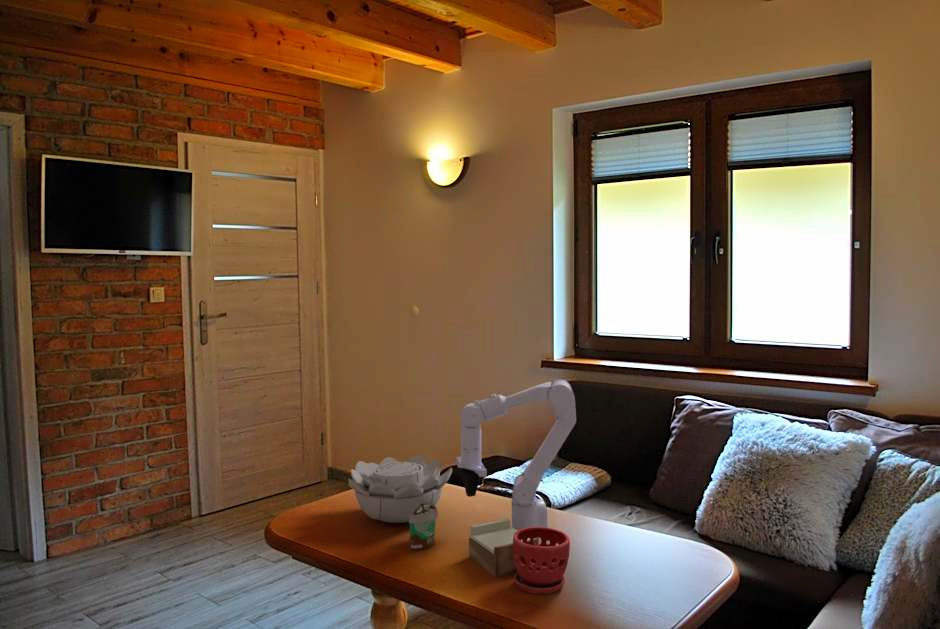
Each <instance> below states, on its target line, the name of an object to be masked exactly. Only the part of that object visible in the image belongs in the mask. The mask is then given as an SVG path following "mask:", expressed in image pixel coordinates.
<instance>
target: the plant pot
mask: <svg viewBox="0 0 940 629" xmlns="http://www.w3.org/2000/svg"><path fill="white" fill-rule="evenodd" d="M528 538H530V541H529V542H527V539H528ZM534 538H540V540H541V542H540V544H538V545H535V544H534V543H533V539H534ZM521 540H522V541H523V542H521ZM547 542H549V544H548V543H547ZM570 542H571V540H570V536H568V534H566V533H565V532H563V531H561V530H558V529H555V528H551V527H547V528H546V527H529V528H523V529H520V530H518V531H516V532H515V533H514V536H513V557H514V563H515V567H516V570H517V573H514V582H515V583H516V585H517V586H518V587H519V589H522V590H523V591H525V592H529V593H531V594H532V593H533V594H537V595H538V594H540V595H542V594H543V595H544V594H545V595H546V594H551V593H555V592H557V591H559V590H560V589H561V588H562V587H563V586H564V584H565V581H566V580H565V579H566V578H565V577H564V574H565V572H566V570H567V567H568V563H569V557H570V550H571V549H570V548H571V547H570V546H571V543H570Z"/></svg>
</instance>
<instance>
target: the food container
mask: <svg viewBox="0 0 940 629" xmlns="http://www.w3.org/2000/svg"><path fill="white" fill-rule="evenodd" d="M438 516H439V512H438V508H437V505H436V506H435V505H434V504H433V503H430V502H425V501H421V502H420V506H419V507H418V508H417V509H416V510H415V512H414V513H413V515H409V522H408V524H409V541H410V551H411V552H420V551H427V550H429V549H431V548H433V547H434V545H435V539H436V538H435V537H436V536H435V535H436V518H438Z"/></svg>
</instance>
